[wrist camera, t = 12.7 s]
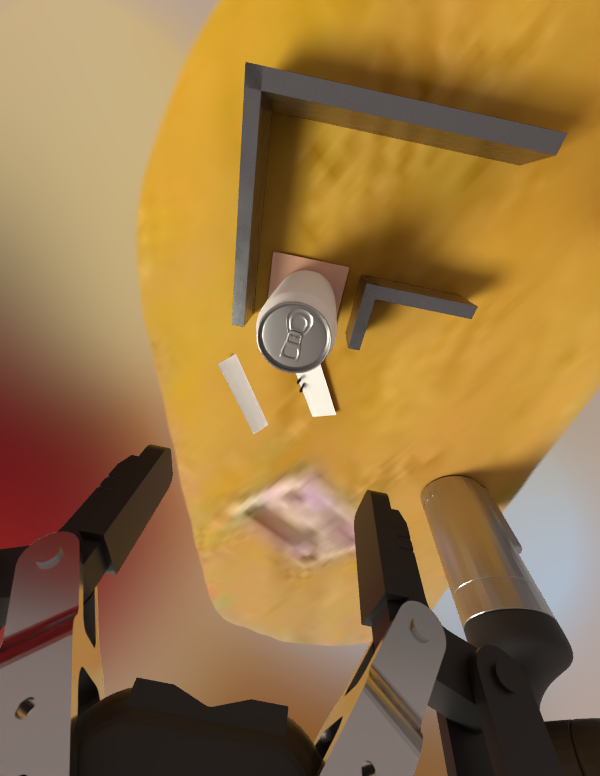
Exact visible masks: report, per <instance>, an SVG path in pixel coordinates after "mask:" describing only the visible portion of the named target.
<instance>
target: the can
mask: <svg viewBox="0 0 600 776" xmlns="http://www.w3.org/2000/svg"><path fill="white" fill-rule="evenodd" d="M256 334H257V344H258V347H259V350H260V352H261V354H262V355H263V357H264V358H265V359H266V360H267V362H268V363H270V364H271V365H272V366H274V367H275V368H277V369H279V370H281V371H284V372H288V373H304V372H308V371H310V370H313V369H314V368H316V367H318V366H319V365H320V364H321V363H322V362H323V361H324V360H325V359H326V357H327V356H328V355H329V353H330V352H331V350H332V349H333V346H334V344H335V340H336V335H337V319H336V304H335V295H334V291H333V288H332V286H331V285H330V283H329V282H328V280H327V279H326V278H325V277H324V276H322V275H321V274H319V273H317V272H314V271H309V270H301V271H297V272H294V273H292V274H290V275H289V276H287V277H286V278H285V279H284V280H283V281H282V282H281V284H280V285H279V286H278V287H277V289H276V290H275V291H274V292H273V294H272V295H271V296H270V298H269V299H268V300H267V302H266V303H265V304H264V306H263V307H262V309H261V311H260V313H259V316H258V319H257V323H256Z"/></svg>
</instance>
